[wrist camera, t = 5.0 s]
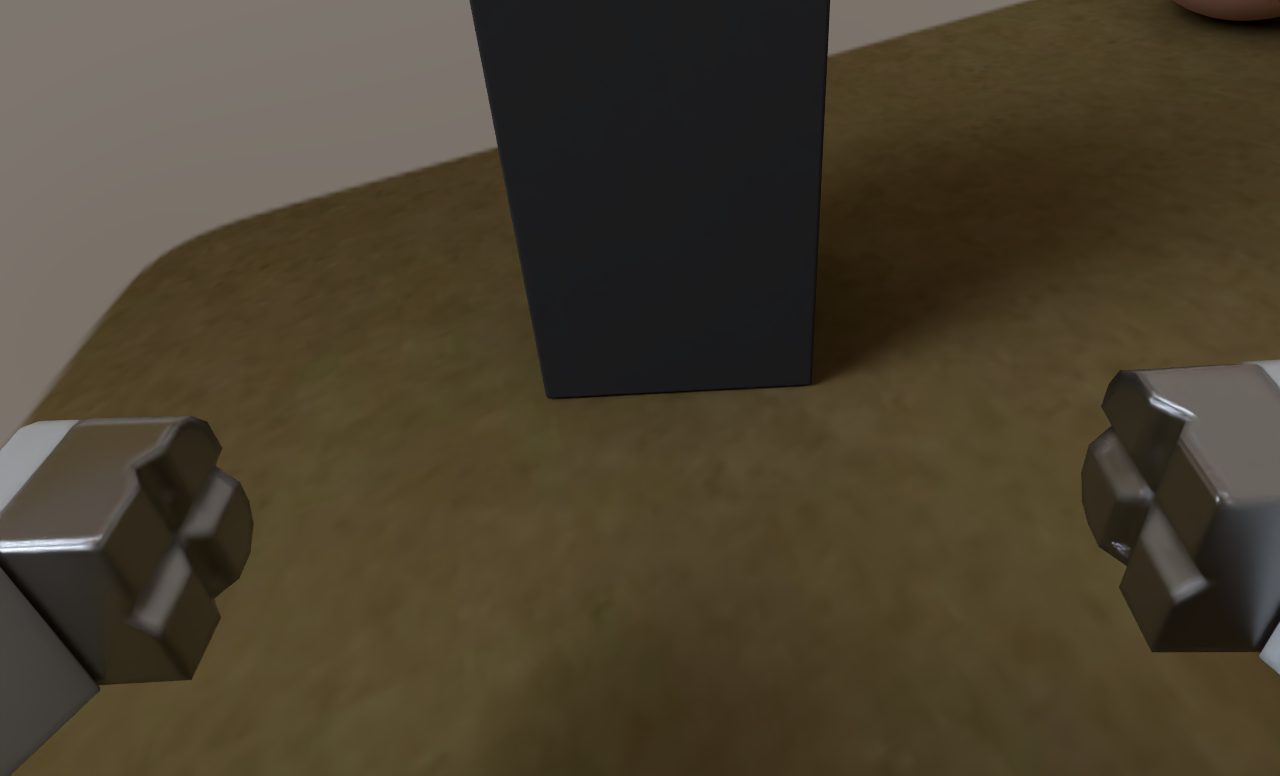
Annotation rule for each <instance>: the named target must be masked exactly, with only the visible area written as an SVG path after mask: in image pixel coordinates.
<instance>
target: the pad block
mask: <svg viewBox="0 0 1280 776" xmlns="http://www.w3.org/2000/svg"><path fill="white" fill-rule="evenodd" d="M470 5H471V10H472V15H473V21H474V26H475V31H476V36H477V41H478V46H479V52H480V57H481V62H482V67H483V72H484V77H485V82H486V88H487V92H488V98H489V103H490V108H491V113H492V119H493V124H494V129H495V134H496V139H497V144H498V150H499V155H500V160H501V165H502V170H503V175H504V181H505V186H506V191H507V196H508V201H509V206H510V212H511V217H512V222H513V227H514V232H515V237H516V242H517V248H518V253H519V258H520V263H521V268H522V273H523V279H524V284H525V289H526V294H527V299H528V304H529V310H530V315H531V320H532V325H533V330H534V335H535V341H536V346H537V351H538V356H539V361H540V366H541V371H542V377H543V382H544V387H545V392H546V396H547V398H562V397H581V396H601V395H620V394H639V393H658V392H678V391H697V390H716V389H735V388H755V387H774V386H793V385H809V384H811V382H812V363H813V343H814V322H815V301H816V281H817V260H818V239H819V219H820V198H821V177H822V157H823V136H824V116H825V95H826V74H827V54H828V33H829V11H830V0H470Z"/></svg>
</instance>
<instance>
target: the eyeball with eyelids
mask: <svg viewBox="0 0 1280 776" xmlns="http://www.w3.org/2000/svg"><path fill="white" fill-rule="evenodd" d="M1173 1H1174V2H1176V3H1177V4H1179V5H1181V6H1182V7H1184V8H1186V9H1188V10H1191V11H1193V12H1195V13H1198V14H1201V15H1204V16H1208V17H1212V18H1217V19H1223V20H1234V21H1252V20H1263V19H1270V18H1276V17H1280V0H1173Z"/></svg>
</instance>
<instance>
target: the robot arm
mask: <svg viewBox="0 0 1280 776" xmlns="http://www.w3.org/2000/svg"><path fill="white" fill-rule="evenodd" d="M1101 407H1102V409H1103V411H1104V413H1105V414H1106V416H1107V418H1108V419H1109V421H1110V423H1111V425H1112V426H1111V427H1110V428H1109V429H1107V430H1106V431H1105V432H1104V433H1103V434H1101V435H1100V436H1099V437H1098V438H1096V439H1095V440H1094V441H1093V442H1092V443H1090V444H1089V446H1088V450H1087V454H1086V457H1085V461H1084V465H1083V468H1082V472H1081V478H1082V503H1083V507H1084V511H1085V514H1086V518H1087V522H1088V525H1089V527H1090V529H1091V531H1092V533H1093V536H1094V538H1095V540H1096V542H1097V544H1098V546H1099V547H1100V548H1101V549H1103V550H1104V551H1106V552H1107V553H1109V554H1110V555H1111V556H1113V557H1114V558H1116V559H1117V560H1119V561H1120V562H1122V563H1123V564H1125V565H1126V566H1127V568H1126V571H1125V573H1124V576H1123V578H1122V581H1121V584H1120V586H1119V589H1120V591H1121V592H1122V594H1123V596H1124V598H1125V600H1126V602H1127V604H1128V606H1129V608H1130V610H1131V612H1132V614H1133V616H1134V618H1135V620H1136V622H1137V624H1138V626H1139V628H1140V630H1141V632H1142V634H1143V636H1144V638H1145V640H1146V642H1147V644H1148V646H1149V648H1150V650H1151V652H1261V653H1260V655H1259V658H1260V659H1262V660H1263V661H1264V662H1265V663H1267V664H1268V665H1269V666H1270V667H1271V668H1273V669H1274V670H1275V671H1276V672H1278V673H1279V674H1280V359H1279V360H1264V361H1250V362H1244V363H1242V364H1226V365H1207V366H1189V367H1171V368H1153V369H1135V370H1120V371H1119V372H1118V373H1117V374H1116V376H1115V377H1114V378H1113V379H1112V381H1111V382H1110V383H1109V385H1108V388H1107V391H1106V394H1105V397H1104V400H1103V403H1102V405H1101ZM221 450H222V447H221V445H220V443H219V441H218V440H217V438H216V436H215V435H214V433H213V431H212V429H211V428H210V426H209V424H208V422H207V421H204V420H201V419H198V418H195V417H192V416H174V417H136V418H99V419H89V420H57V421H38V422H36V423H33V424H30V425H28V426H25V427H23V428H20V429H19V430H18V431H17V432H16V433H15V434H14V436H13V437H12V438H11V439H10V440H9V441H8V443H7V444H6V445H5V446H4V447H3V448H2V450H1V451H0V776H10V775H11V774H12V773H13V772H14V771H16V770H17V769H18V768H19V767H20V766H21V765H22V764H23V763H24V762H25V761H26V760H27V759H28V758H29V757H30V756H31V755H32V754H34V753H35V752H36V751H37V750H38V749H39V748H40V747H41V746H42V745H43V744H44V743H45V742H46V741H47V740H48V739H49V738H50V737H51V736H53V735H54V734H55V733H56V732H57V731H58V730H59V729H60V728H61V727H62V726H63V725H64V724H65V723H66V722H67V721H68V720H69V719H71V718H72V717H73V716H74V715H75V714H76V713H77V712H78V711H79V710H80V709H81V708H82V707H83V706H84V705H85V704H86V703H87V702H89V701H90V700H91V699H92V698H93V697H94V696H95V695H96V694H97V693H98V692H99V691H100V687H99V686H98V685H110V684H128V683H145V682H163V681H180V680H192V678H193V675H194V673H195V671H196V669H197V667H198V665H199V663H200V661H201V659H202V656H203V654H204V652H205V650H206V648H207V646H208V644H209V642H210V640H211V637H212V635H213V633H214V631H215V629H216V627H217V625H218V623H219V621H220V619H221V616H220V614H219V611H218V608H217V605H216V602H215V599H214V598H215V597H217V596H218V595H219V594H220V593H222V592H223V591H224V590H225V589H227V588H228V587H229V586H230V585H232V584H233V583H234V582H235V581H237V580H238V579H239V578H240V576H241V573H242V571H243V569H244V566H245V564H246V562H247V560H248V557H249V555H250V551H251V542H252V534H253V525H254V523H253V518H252V513H251V508H250V503H249V500H248V498H247V496H246V494H245V492H244V490H243V488H242V486H241V484H240V482H239V481H237V480H236V479H234V478H233V477H231V476H230V475H228V474H227V473H225V472H224V471H222V470H221V469H219V468H218V467H216V466H215V465H216V463H217V460H218V458H219V455H220V453H221Z"/></svg>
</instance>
